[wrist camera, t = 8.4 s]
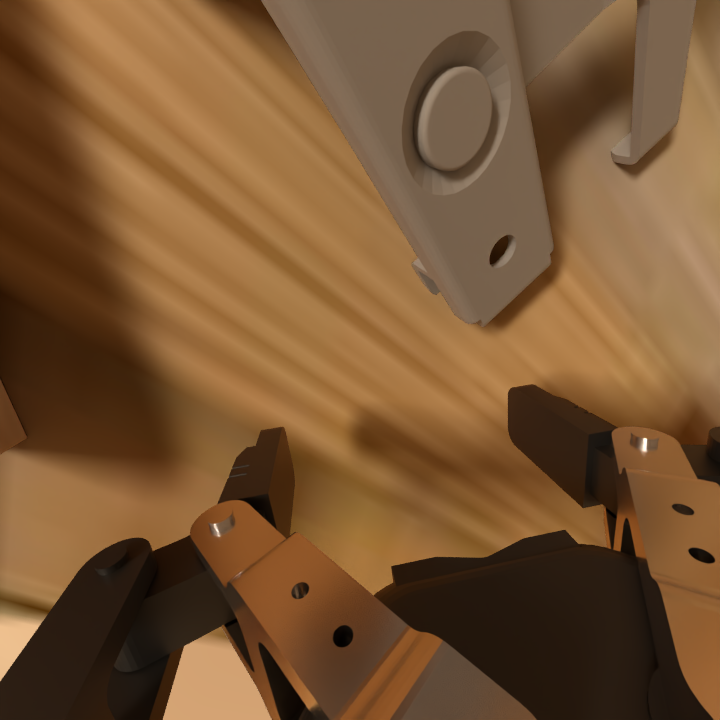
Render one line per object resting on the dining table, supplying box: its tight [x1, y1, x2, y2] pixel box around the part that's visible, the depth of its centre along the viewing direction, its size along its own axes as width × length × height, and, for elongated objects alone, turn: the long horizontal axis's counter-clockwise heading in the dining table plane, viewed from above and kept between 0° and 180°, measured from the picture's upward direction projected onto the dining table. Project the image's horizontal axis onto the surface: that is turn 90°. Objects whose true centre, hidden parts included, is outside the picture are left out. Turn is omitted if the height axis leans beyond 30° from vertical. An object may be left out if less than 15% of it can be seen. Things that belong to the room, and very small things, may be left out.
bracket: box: [261, 0, 696, 327], centre depth 11 cm, size 10×14×10 cm
